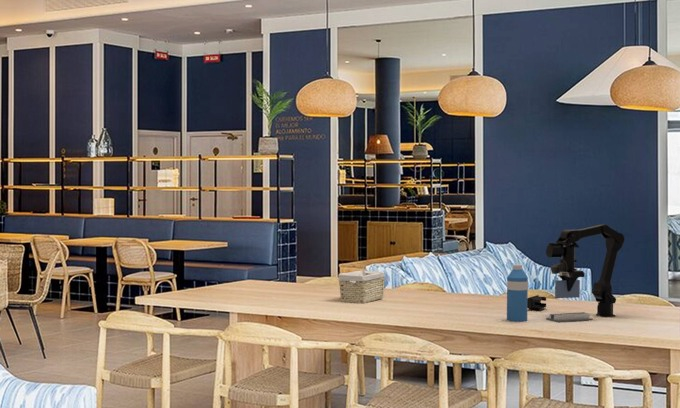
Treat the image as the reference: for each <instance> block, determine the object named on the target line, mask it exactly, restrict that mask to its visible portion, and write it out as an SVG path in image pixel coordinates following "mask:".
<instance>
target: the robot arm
mask: <svg viewBox="0 0 680 408" xmlns="http://www.w3.org/2000/svg"><path fill="white" fill-rule="evenodd" d="M595 235H601V237H602V238H604V239H605V247H606V253H605V257H604V261H603V265H602V270H601V274H600V278H599V280H598V281H594V283H593V287H592V290H591V291H592V295H593V297H594V299H595V302H597V303H598V304H597V308H596V309H597V312H596V313H595V316H601V317H615V316H616V315H615V314H614V304H616V302H617V298H616V297H615V296H614V294H613V292H612V291H613V287H612V283H611V281H612V277H613V273H614V269H615V265H616V261H617V255H618V252H619V251H620V250H621V249H622V248H623V246H624V243H625V240H626V239H625V236H624V234H623V233H622V232H618V231H617V230H615V229H613V228H612V227H610V226H609V225H608V224H605V223H602V224H601V223H599V224H598V225H593V226H588V227H585V228H580V229H563V230H562V231H561V232H560V235H559V237H558V238H557V240H556V242H548V245H547V247H546V249H545V255H546V256H547V257H548V258H553V259H554V258H555V259H556V258H561V259H559V262H557V263H555V264H553V265H551V266H550V271H551V274H553V275H557V277H559V278H560V280H567V290H568V291H571V289H572V287H573V285H574V283H575V281H576V280H578V279H579V278H585V277H586V274H585V271H583V270H579V269H578V270H577V268H575V265H576V264H575V263H576V262H577V259H575V258H576V252H575V251H576V248H580V245H578V243H577V242H578V241H580V240H582V239H584V238H586V237H592V236H595Z"/></svg>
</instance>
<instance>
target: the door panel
mask: <svg viewBox="0 0 680 408" xmlns="http://www.w3.org/2000/svg"><path fill="white" fill-rule="evenodd" d="M580 282H581V280H580V279H577V280H576V281H575V283H574V285H573V287H572V289H571V291H568V290H567V280H562V279H559V280H557V279H556V280H555V281H554V283H555V284H554V286H555V287H554V298H555V299H571V298H572V299H576V298H580V291H581V287H580V286H581V283H580Z"/></svg>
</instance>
